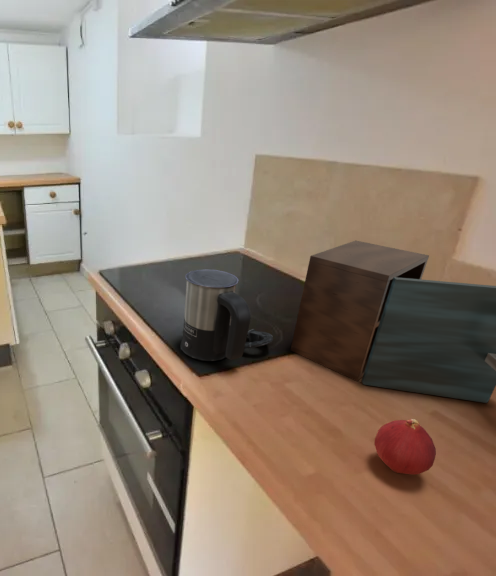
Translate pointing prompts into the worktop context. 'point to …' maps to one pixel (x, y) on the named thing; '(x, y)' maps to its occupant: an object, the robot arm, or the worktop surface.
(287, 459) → the worktop surface
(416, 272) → the cupboard
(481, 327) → the door
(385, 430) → the onion
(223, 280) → the milk frother
